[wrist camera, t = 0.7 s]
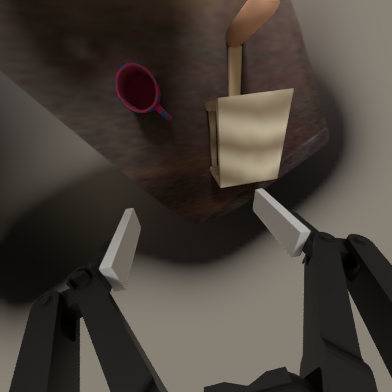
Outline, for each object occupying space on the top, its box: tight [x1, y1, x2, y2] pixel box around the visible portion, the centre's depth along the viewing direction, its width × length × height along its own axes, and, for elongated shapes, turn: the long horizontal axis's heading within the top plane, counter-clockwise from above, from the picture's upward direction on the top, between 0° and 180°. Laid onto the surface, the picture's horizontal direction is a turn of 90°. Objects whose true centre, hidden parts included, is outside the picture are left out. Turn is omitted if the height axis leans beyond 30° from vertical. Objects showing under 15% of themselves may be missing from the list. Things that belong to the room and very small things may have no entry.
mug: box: [115, 62, 172, 121], centre depth 28 cm, size 7×10×7 cm
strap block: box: [226, 0, 280, 97], centre depth 28 cm, size 24×6×11 cm, turn 6°
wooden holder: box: [205, 88, 294, 188], centre depth 32 cm, size 16×13×10 cm
